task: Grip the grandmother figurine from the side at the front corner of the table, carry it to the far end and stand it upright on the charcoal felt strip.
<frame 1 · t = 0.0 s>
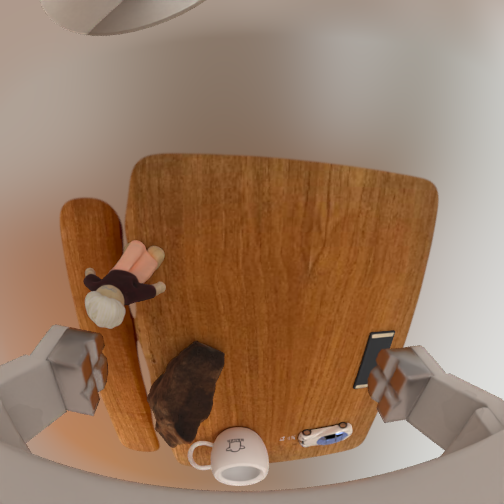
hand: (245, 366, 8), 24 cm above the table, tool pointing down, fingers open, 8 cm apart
decorative rock: (186, 369, 37), on the table
mug: (226, 436, 43), on the table
toy car: (315, 432, 44), on the table
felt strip: (373, 360, 40), on the table
grandmother figurine: (139, 254, 32), on the table
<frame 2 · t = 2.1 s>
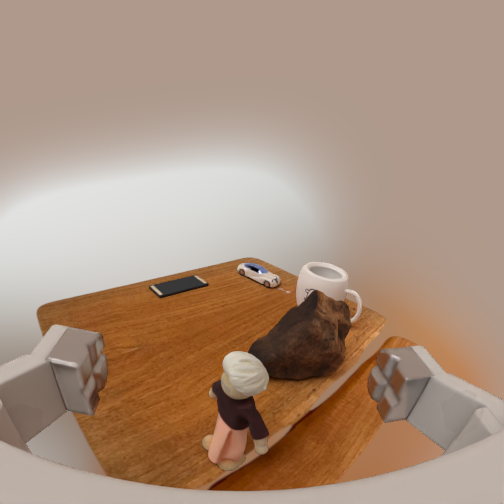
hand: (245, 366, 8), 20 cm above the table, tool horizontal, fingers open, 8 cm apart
decorative rock: (294, 369, 38), on the table
mug: (323, 317, 51), on the table
toy car: (264, 282, 61), on the table
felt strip: (179, 286, 53), on the table
grandmother figurine: (226, 456, 24), on the table
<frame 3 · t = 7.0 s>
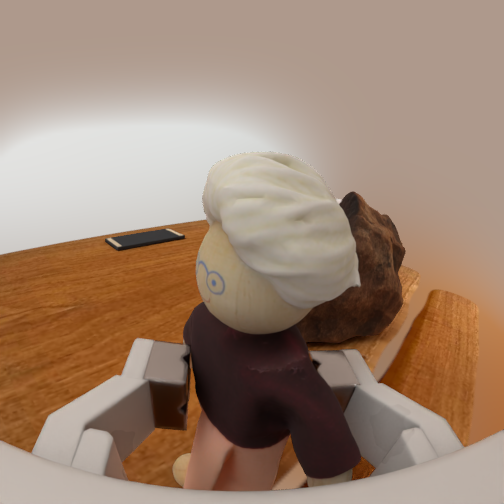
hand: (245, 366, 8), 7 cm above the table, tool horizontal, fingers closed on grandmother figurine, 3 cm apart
decorative rock: (323, 331, 24), on the table
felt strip: (145, 239, 38), on the table
grandmother figurine: (225, 500, 10), on the table, touching gripper
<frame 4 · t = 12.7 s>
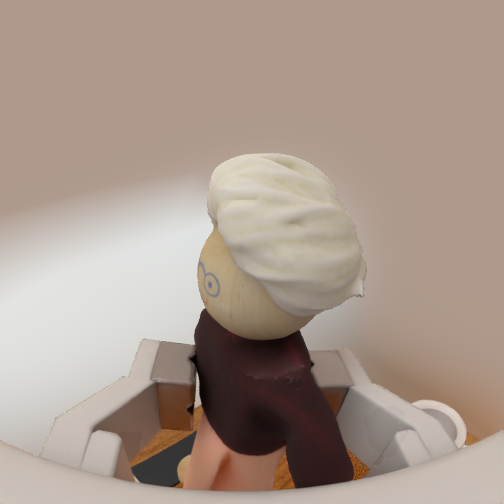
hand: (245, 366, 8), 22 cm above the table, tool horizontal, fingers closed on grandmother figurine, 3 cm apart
mug: (414, 473, 23), on the table
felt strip: (175, 464, 24), on the table
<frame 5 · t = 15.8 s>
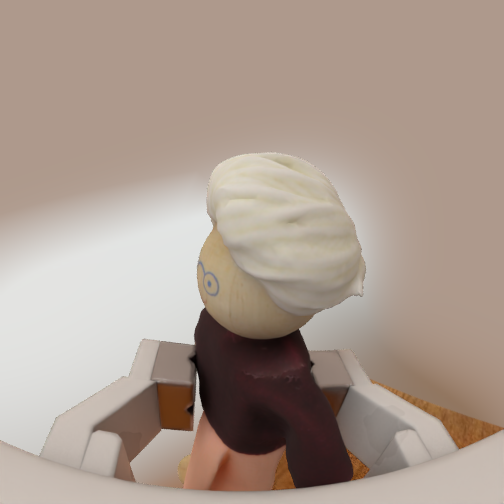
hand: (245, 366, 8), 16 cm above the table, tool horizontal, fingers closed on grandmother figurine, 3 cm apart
grandmother figurine: (225, 503, 10), point 8 cm above the table, touching gripper
when the fingers open (7 cm above the table, at t = 18.3 s): grandmother figurine stays where it is, resting on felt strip.
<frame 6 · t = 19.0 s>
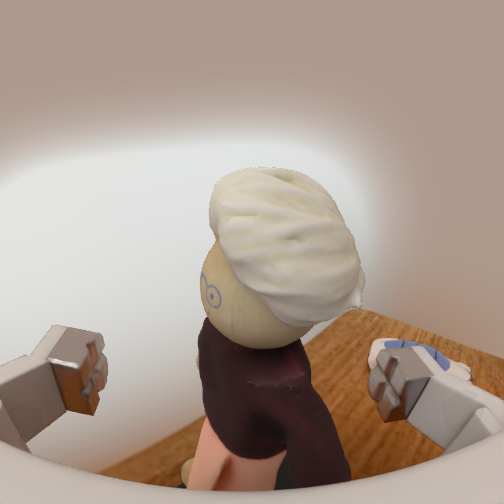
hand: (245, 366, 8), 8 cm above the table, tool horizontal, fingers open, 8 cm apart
toy car: (435, 386, 18), on the table
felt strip: (228, 502, 10), on the table
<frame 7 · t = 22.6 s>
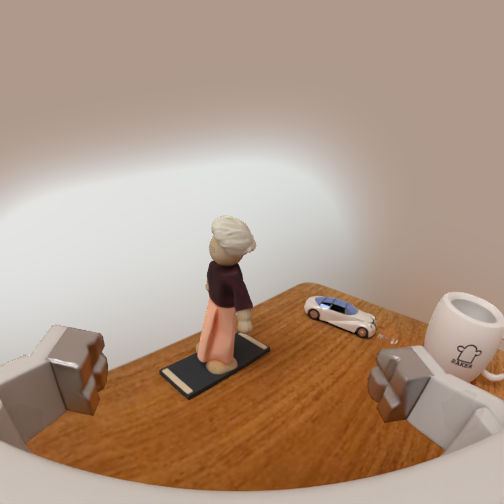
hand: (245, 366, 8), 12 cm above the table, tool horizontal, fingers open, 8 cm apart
mug: (459, 377, 26), on the table
toy car: (350, 327, 35), on the table
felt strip: (218, 362, 26), on the table
grandmother figurine: (217, 363, 26), resting on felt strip
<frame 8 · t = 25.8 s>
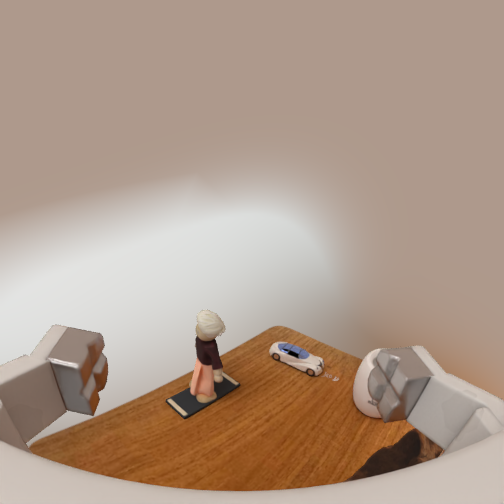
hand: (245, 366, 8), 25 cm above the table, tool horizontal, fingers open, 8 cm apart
decorative rock: (372, 498, 23), on the table
mug: (383, 410, 37), on the table
toy car: (304, 366, 46), on the table
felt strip: (204, 394, 38), on the table
grandmother figurine: (203, 394, 38), resting on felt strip
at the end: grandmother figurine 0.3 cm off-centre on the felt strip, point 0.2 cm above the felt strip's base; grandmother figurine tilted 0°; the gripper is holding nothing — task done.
